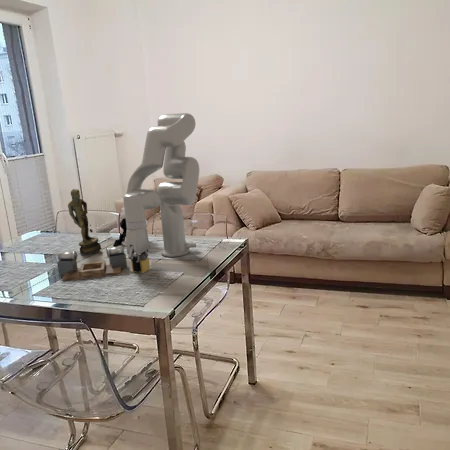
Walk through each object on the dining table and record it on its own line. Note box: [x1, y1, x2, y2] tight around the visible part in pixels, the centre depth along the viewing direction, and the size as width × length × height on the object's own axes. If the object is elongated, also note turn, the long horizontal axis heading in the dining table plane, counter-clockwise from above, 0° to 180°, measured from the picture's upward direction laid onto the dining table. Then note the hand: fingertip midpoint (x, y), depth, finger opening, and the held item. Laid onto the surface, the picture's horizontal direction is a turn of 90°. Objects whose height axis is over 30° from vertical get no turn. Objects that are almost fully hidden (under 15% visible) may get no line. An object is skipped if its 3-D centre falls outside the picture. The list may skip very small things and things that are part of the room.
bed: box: [62, 260, 122, 282], centre depth 188 cm, size 22×11×3 cm, turn 100°
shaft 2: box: [105, 245, 128, 270], centre depth 191 cm, size 7×4×9 cm, turn 115°
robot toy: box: [112, 203, 150, 248], centre depth 227 cm, size 19×14×20 cm
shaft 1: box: [56, 250, 79, 277], centre depth 189 cm, size 7×4×9 cm, turn 85°
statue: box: [67, 188, 102, 255], centre depth 213 cm, size 11×11×30 cm
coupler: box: [130, 254, 151, 274], centre depth 188 cm, size 5×5×6 cm
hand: (141, 268), depth 189 cm, fingers closed on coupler, 5 cm apart
